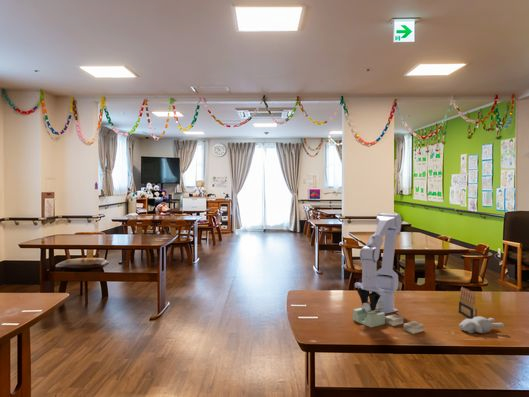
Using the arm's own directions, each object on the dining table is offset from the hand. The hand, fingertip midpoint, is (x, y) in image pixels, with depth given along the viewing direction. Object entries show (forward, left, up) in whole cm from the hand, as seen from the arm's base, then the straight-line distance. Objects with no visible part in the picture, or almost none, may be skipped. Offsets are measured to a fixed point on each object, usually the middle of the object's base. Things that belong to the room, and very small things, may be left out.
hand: (368, 308), depth 161 cm
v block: (0, 0, -6) cm, 6 cm away
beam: (+11, +8, -6) cm, 15 cm away
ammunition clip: (+17, +42, -6) cm, 46 cm away
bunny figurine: (+29, +30, -6) cm, 43 cm away
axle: (0, +2, -2) cm, 3 cm away
